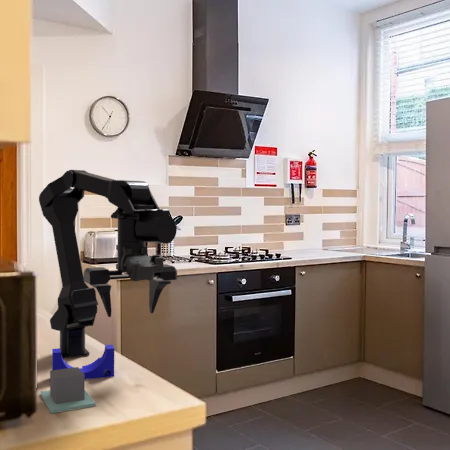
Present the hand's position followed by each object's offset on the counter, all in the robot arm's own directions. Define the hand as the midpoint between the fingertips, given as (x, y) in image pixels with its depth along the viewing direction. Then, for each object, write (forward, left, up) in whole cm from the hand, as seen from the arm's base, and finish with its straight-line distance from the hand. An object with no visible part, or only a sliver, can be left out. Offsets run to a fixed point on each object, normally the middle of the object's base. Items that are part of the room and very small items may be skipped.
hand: (130, 314), depth 116 cm
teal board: (+11, -16, -12) cm, 22 cm away
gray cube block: (+11, -16, -12) cm, 22 cm away
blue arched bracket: (-1, -10, -12) cm, 16 cm away
